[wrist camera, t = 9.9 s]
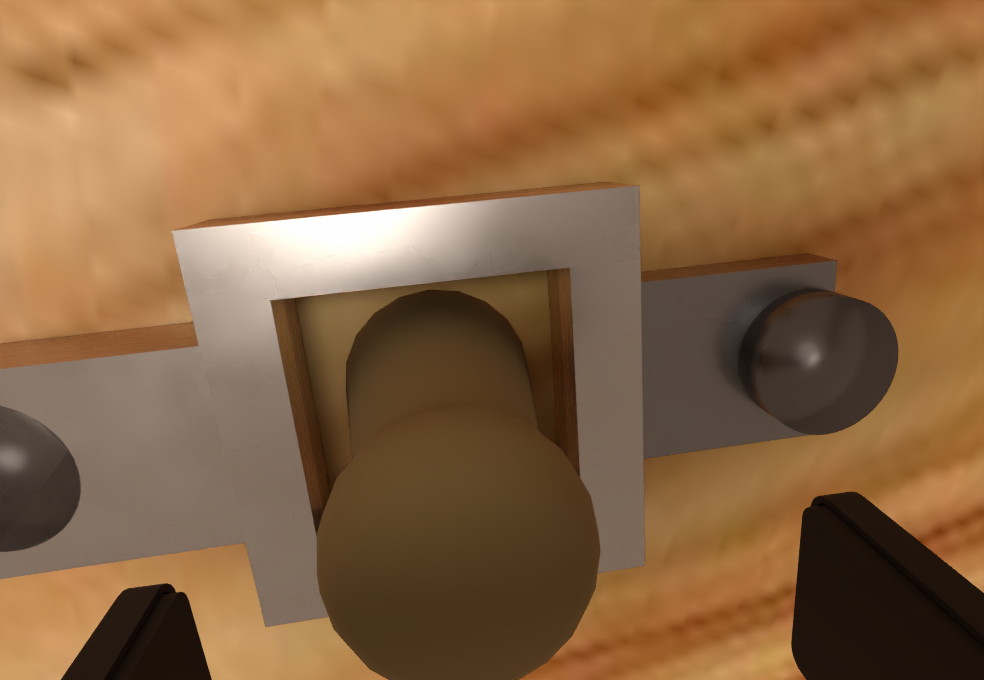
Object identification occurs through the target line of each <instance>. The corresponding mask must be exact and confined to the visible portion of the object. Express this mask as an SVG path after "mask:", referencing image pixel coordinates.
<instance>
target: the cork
mask: <svg viewBox="0 0 984 680" xmlns="http://www.w3.org/2000/svg"><path fill="white" fill-rule="evenodd" d="M346 395H347V406H348V417H349V428H350V439H351V450H352V461H351V462H350V463H349V464H348V465H347V467H346V468H345V469H344V470H343V471H342V472H341V474H340V475H339V476H338V477H337V478H336V481H335V483H334V486H333V488H332V491H331V494H330V496H329V499H328V501H327V504H326V507H325V509H324V512H323V515H322V518H321V521H320V525H319V528H318V532H317V579H318V585H319V592H320V595H321V598H322V600H323V603H324V605H325V608H326V611H327V613H328V616H329V618H330V621H331V623H332V626H333V628H334V630H335V631H336V632H337V633H338V635H339V636H340V637H341V638H342V639H343V640H344V641H345V643H346V644H347V645H348V646H349V647H350V648H351V649H352V650H353V651H354V653H355V654H356V655H357V656H358V657H359V658H360V659H361V660H362V661H363V662H364V664H365V665H366V666H367V667H368V668H369V669H370V670H372V671H374V672H376V673H378V674H379V675H381V676H383V677H385V678H387V679H388V680H518V679H520V678H522V677H523V676H525V675H527V674H528V673H530V672H532V671H533V670H535V669H537V668H538V667H540V666H542V665H543V664H545V663H547V662H548V661H549V660H550V658H551V657H552V656H553V655H554V654H555V653H556V652H557V651H558V650H559V649H560V648H561V647H562V646H563V645H564V644H565V643H566V642H567V641H568V640H569V639H570V638H571V637H572V635H573V633H574V631H575V629H576V627H577V625H578V623H579V621H580V620H581V618H582V616H583V614H584V612H585V610H586V608H587V606H588V604H589V601H590V599H591V597H592V595H593V592H594V590H595V587H596V580H597V573H598V566H599V559H600V553H601V550H600V540H599V532H598V527H597V522H596V518H595V513H594V508H593V504H592V499H591V496H590V494H589V492H588V490H587V489H586V487H585V485H584V483H583V482H582V480H581V478H580V477H579V475H578V474H577V472H576V471H575V469H574V468H573V466H572V465H571V463H570V461H569V460H568V458H567V457H566V455H565V454H564V452H563V451H562V449H561V448H559V447H558V446H557V445H555V444H554V443H553V442H551V441H550V440H549V439H548V438H546V437H545V436H544V435H542V434H541V433H540V432H538V426H537V420H536V414H535V408H534V402H533V397H532V391H531V385H530V379H529V373H528V368H527V363H526V359H525V355H524V350H523V346H522V342H521V341H520V339H519V337H518V336H517V334H516V333H515V331H514V329H513V328H512V326H511V325H510V323H509V322H508V320H507V319H506V318H505V317H504V316H502V315H501V314H500V313H499V312H497V311H496V310H495V309H494V308H493V307H491V306H490V305H489V304H488V303H486V302H485V301H482V300H480V299H477V298H474V297H472V296H469V295H467V294H464V293H461V292H459V291H443V290H426V291H422V292H418V293H414V294H410V295H406V296H403V297H399V298H398V299H396V300H395V301H393V302H391V303H390V304H388V305H387V306H385V307H384V308H382V309H380V310H379V311H377V312H376V313H374V314H373V316H372V317H371V318H370V319H369V321H368V322H367V323H366V324H365V326H364V327H363V328H362V329H361V330H360V332H359V333H358V334H357V335H356V338H355V340H354V343H353V346H352V348H351V351H350V354H349V357H348V359H347V362H346Z"/></svg>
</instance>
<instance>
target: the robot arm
mask: <svg viewBox="0 0 984 680" xmlns="http://www.w3.org/2000/svg"><path fill="white" fill-rule="evenodd" d="M791 644H792V652H793V656H794V659H795V662H796V664H797V666H798V668H799V670H800V671H801V673H802V674H803V676H804V677H805V678H806V680H984V593H983V592H982V591H980V590H979V589H978V588H977V587H975V586H974V585H973V584H972V583H970V582H969V581H968V580H967V579H966V578H964V577H963V576H962V575H961V574H959V573H958V572H957V571H956V570H954V569H953V568H952V567H951V566H949V565H948V564H947V563H946V562H944V561H943V560H942V559H941V558H939V557H938V556H937V555H936V554H934V553H933V552H932V551H931V550H929V549H928V548H927V547H926V546H924V545H923V544H922V543H921V542H919V541H918V540H917V539H916V538H914V537H913V536H912V535H911V534H909V533H908V532H907V531H906V530H904V529H903V528H902V527H901V526H899V525H898V524H897V523H896V522H894V521H893V520H892V519H891V518H889V517H888V516H887V515H886V514H884V513H883V512H882V511H881V510H880V509H878V508H877V507H876V506H875V505H873V504H872V503H871V502H870V501H868V500H867V499H866V498H865V497H863V496H862V495H860V494H858V493H857V492H845V493H838V494H830V495H823V496H818V497H816V498H814V500H813V501H812V503H811V507H808V508H806V509H805V510H804V512H803V516H802V526H801V538H800V549H799V561H798V573H797V584H796V596H795V607H794V619H793V630H792V642H791ZM61 680H212V679H211V676H210V672H209V669H208V665H207V662H206V659H205V655H204V652H203V648H202V645H201V641H200V638H199V634H198V631H197V628H196V624H195V621H194V617H193V614H192V610H191V607H190V603H189V600H188V598H187V595H186V594H185V593H183V592H177V593H176V591H175V589H174V588H173V586H172V585H171V584H167V583H166V584H158V585H151V586H143V587H136V588H128V589H126V590H124V591H123V592H122V593H121V594H120V595H119V596H118V597H117V599H116V600H115V602H114V603H113V605H112V606H111V607H110V609H109V610H108V612H107V613H106V615H105V616H104V618H103V619H102V621H101V622H100V623H99V625H98V626H97V628H96V629H95V631H94V632H93V634H92V635H91V637H90V638H89V639H88V641H87V642H86V644H85V645H84V647H83V648H82V650H81V651H80V653H79V654H78V655H77V657H76V658H75V660H74V661H73V663H72V664H71V666H70V667H69V669H68V670H67V671H66V673H65V674H64V676H63V677H62V679H61Z"/></svg>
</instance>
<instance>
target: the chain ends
mask: <svg viewBox="0 0 984 680" xmlns="http://www.w3.org/2000/svg"><path fill="white" fill-rule="evenodd" d="M172 234H173V238H174V242H175V247H176V251H177V255H178V259H179V264H180V268H181V272H182V276H183V280H184V285H185V289H186V293H187V297H188V302H189V306H190V310H191V314H192V318H193V322H192V323H183V324H174V325H165V326H156V327H147V328H138V329H129V330H120V331H111V332H102V333H93V334H84V335H76V336H67V337H58V338H49V339H40V340H31V341H22V342H13V343H4V344H0V579H4V578H10V577H17V576H24V575H31V574H37V573H44V572H51V571H58V570H64V569H71V568H78V567H85V566H91V565H98V564H105V563H112V562H118V561H125V560H132V559H139V558H145V557H152V556H159V555H166V554H172V553H179V552H186V551H193V550H199V549H206V548H213V547H220V546H226V545H233V544H240V543H246V547H247V551H248V555H249V560H250V564H251V568H252V572H253V576H254V581H255V585H256V589H257V593H258V598H259V602H260V606H261V610H262V615H263V619H264V623H265V627H269V626H275V625H281V624H288V623H294V622H300V621H306V620H312V619H318V618H325V617H329V616H328V613H327V611H326V608H325V605H324V603H323V600H322V598H321V595H320V592H319V585H318V579H317V532H318V528H319V525H320V521H321V518H322V515H323V512H324V509H325V507H326V504H327V501H328V499H329V496H330V494H331V493H330V487H329V482H328V477H327V471H326V466H325V460H324V455H323V449H322V444H321V438H320V433H319V428H318V422H317V417H316V411H315V406H314V400H313V395H312V390H311V384H310V379H309V373H308V368H307V362H306V357H305V352H304V346H303V341H302V335H301V330H300V324H299V319H298V314H297V308H296V303H295V298H296V297H306V296H315V295H324V294H333V293H342V292H351V291H360V290H369V289H378V288H388V287H397V286H406V285H415V284H424V283H433V282H442V281H451V280H460V279H470V278H479V277H488V276H497V275H506V274H515V273H524V272H533V271H543V270H547V271H548V288H549V305H550V322H551V338H552V355H553V372H554V389H555V405H556V422H557V439H558V447H559V448H561V449H562V451H563V452H564V454H565V455H566V457H567V458H568V460H569V461H570V463H571V465H572V466H573V468H574V469H575V471H576V472H577V474H578V475H579V477H580V478H581V480H582V482H583V483H584V485H585V487H586V489H587V490H588V492H589V494H590V496H591V499H592V504H593V508H594V513H595V518H596V522H597V527H598V532H599V540H600V550H601V553H600V559H599V566H598V573H602V572H608V571H614V570H621V569H627V568H633V567H639V566H645V535H644V466H643V459H645V458H652V457H659V456H666V455H673V454H680V453H687V452H694V451H701V450H708V449H715V448H721V447H728V446H735V445H742V444H749V443H756V442H763V441H770V440H777V439H784V438H791V437H798V436H805V435H822V434H830V433H834V432H838V431H841V430H843V429H846V428H848V427H850V426H852V425H854V424H855V423H857V422H859V421H860V420H861V419H863V418H864V417H865V416H867V415H868V414H869V413H870V412H871V411H872V410H873V409H874V408H875V407H876V406H877V405H878V404H879V402H880V401H881V400H882V398H883V397H884V396H885V394H886V392H887V391H888V389H889V387H890V385H891V383H892V380H893V378H894V375H895V372H896V368H897V362H898V342H897V338H896V334H895V331H894V329H893V326H892V325H891V323H890V321H889V320H888V318H887V317H886V316H885V315H884V314H883V313H882V312H881V311H880V310H879V309H878V308H876V307H874V306H873V305H871V304H869V303H867V302H864V301H861V300H858V299H855V298H852V297H848V296H845V295H842V294H839V293H835V279H836V267H837V260H833V259H829V258H824V257H820V256H816V255H811V254H800V255H791V256H782V257H773V258H764V259H755V260H746V261H737V262H728V263H719V264H710V265H701V266H692V267H683V268H675V269H666V270H657V271H648V272H641V260H640V192H639V185H630V184H620V183H610V182H599V183H589V184H578V185H568V186H557V187H547V188H536V189H526V190H516V191H505V192H495V193H484V194H474V195H463V196H453V197H443V198H432V199H422V200H411V201H401V202H390V203H380V204H369V205H359V206H349V207H338V208H328V209H317V210H307V211H296V212H286V213H276V214H265V215H255V216H244V217H234V218H223V219H213V220H207V221H204V222H200V223H197V224H193V225H190V226H187V227H183V228H180V229H176V230H173V231H172Z"/></svg>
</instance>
